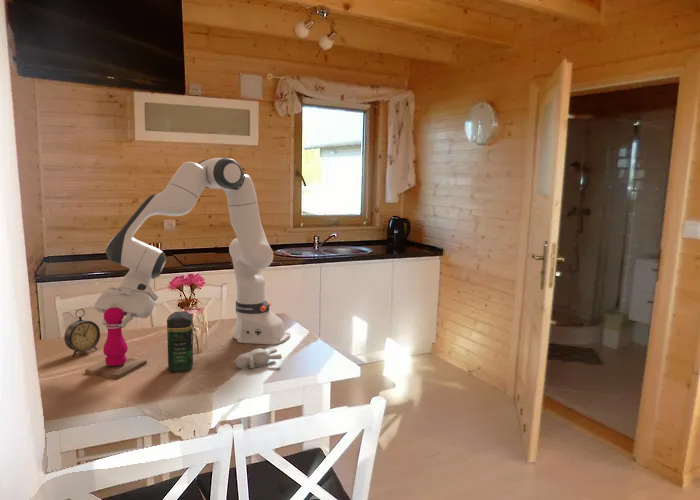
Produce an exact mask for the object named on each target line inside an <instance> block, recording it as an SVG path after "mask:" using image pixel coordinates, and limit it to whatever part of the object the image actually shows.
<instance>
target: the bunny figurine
mask: <svg viewBox="0 0 700 500" xmlns="http://www.w3.org/2000/svg"><path fill="white" fill-rule="evenodd" d="M277 352H278V349H277V348H270V349H269V350H265V349H263V348H256V349H253V350H251V351H249V352H247V351H246V352H245V353H241V354H239V355H238V356H237V357H236V358H235V359H234V365H235V367H236V368H237V369H240V370H248V369H249V368H250V369H254V368H262V367H265V366H267V364H268V363H269V361H270V360H281V359H282V358H283V357H282V354H281V353H277Z"/></svg>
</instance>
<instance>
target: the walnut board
mask: <svg viewBox="0 0 700 500" xmlns="http://www.w3.org/2000/svg"><path fill="white" fill-rule="evenodd" d="M126 359H127V361H126V362H125V363H123V364H121V365H116V366H110V365H107V364H106V361H105V360H102V361H100V362H99V363H96V364H94V365H92V366H90V367H88V368H85V369H84V370H85V371H84V373H85V374H90V375H94V376H95V375H96V376H100V377H105V378H106V377H107V378H112V379H117V380H120V379H121V378H123V377H125V376H127V375H129V374H131V373H133V372H134V371H136V370H138V369H140V368H142V367H144V366H146V365H147V364H148V361H147V360H145V359H140V358H135V357H134V358H133V357H127V356H126Z"/></svg>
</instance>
